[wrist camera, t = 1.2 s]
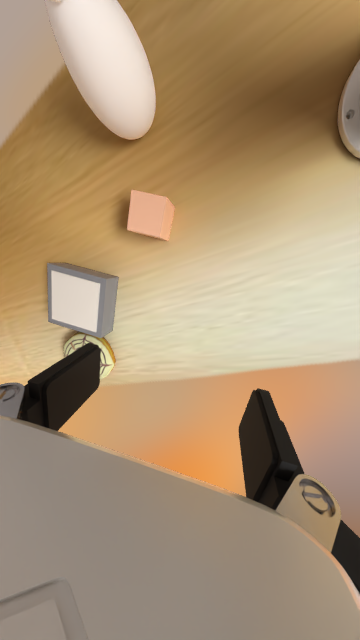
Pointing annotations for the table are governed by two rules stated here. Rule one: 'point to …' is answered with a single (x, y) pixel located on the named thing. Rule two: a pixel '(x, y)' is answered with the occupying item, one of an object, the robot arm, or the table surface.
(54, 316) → the grey flat square block
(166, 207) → the terracotta cube
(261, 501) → the robot arm
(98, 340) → the decorated donut
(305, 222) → the table surface
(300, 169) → the table surface
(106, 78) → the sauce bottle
